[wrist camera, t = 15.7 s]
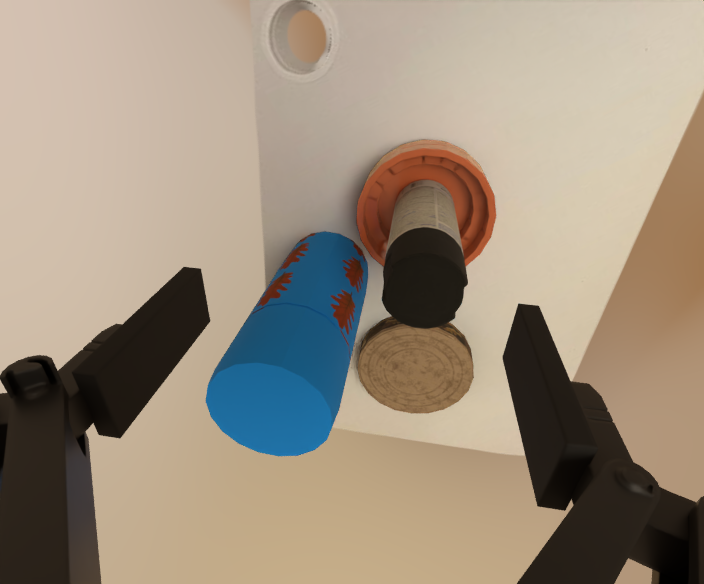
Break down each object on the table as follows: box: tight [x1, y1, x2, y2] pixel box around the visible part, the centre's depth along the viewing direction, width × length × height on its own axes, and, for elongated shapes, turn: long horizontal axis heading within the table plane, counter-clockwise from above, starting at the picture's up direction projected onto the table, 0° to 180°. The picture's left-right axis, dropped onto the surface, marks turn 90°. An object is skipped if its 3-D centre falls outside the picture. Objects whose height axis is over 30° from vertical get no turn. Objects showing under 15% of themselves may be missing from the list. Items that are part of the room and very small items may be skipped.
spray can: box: [382, 180, 468, 329], centre depth 39 cm, size 7×7×20 cm
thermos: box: [206, 232, 368, 456], centre depth 44 cm, size 11×11×25 cm
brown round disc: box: [358, 317, 474, 413], centre depth 58 cm, size 16×16×3 cm
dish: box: [357, 140, 496, 267], centre depth 46 cm, size 14×14×5 cm
